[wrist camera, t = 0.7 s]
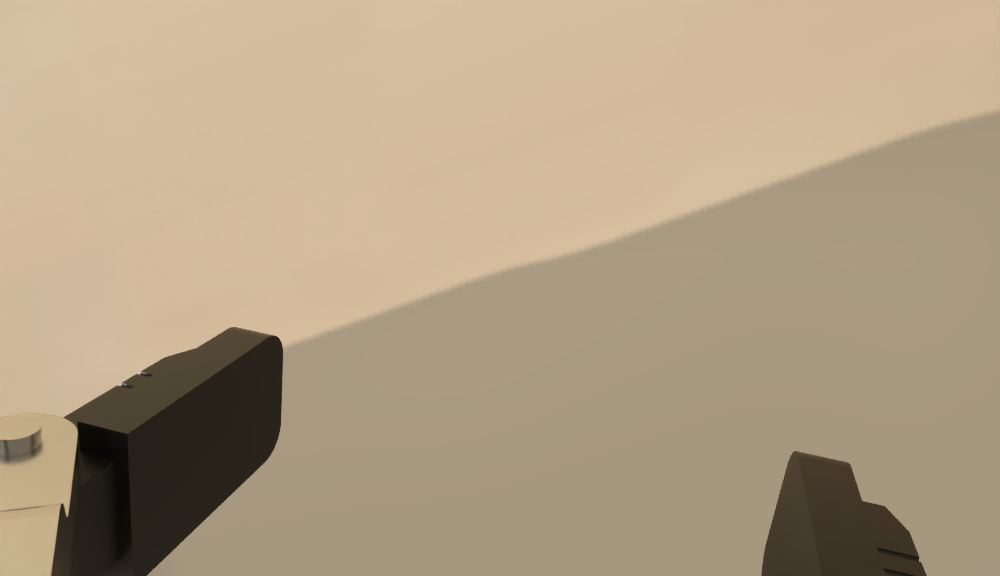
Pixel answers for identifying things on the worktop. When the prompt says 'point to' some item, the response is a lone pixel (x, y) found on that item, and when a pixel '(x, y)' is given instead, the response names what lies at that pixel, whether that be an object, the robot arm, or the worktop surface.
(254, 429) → the robot arm
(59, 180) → the worktop surface
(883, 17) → the worktop surface
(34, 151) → the worktop surface
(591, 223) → the worktop surface
